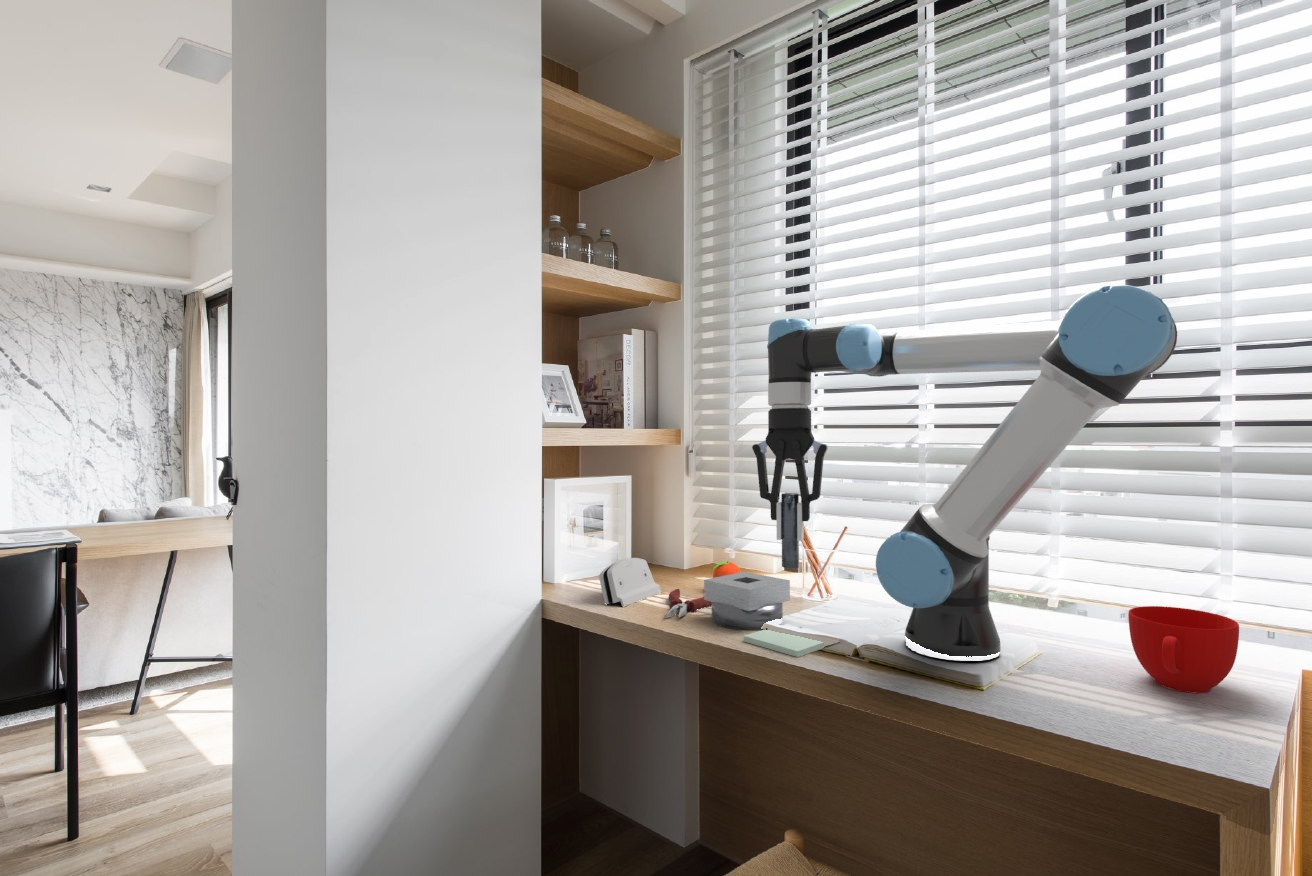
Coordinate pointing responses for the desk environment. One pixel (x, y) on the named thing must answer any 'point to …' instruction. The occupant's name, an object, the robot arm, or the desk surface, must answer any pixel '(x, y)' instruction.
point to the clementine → (725, 569)
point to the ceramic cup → (1183, 646)
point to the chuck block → (746, 599)
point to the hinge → (627, 581)
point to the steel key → (790, 530)
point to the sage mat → (784, 642)
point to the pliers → (687, 606)
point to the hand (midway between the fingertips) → (790, 538)
